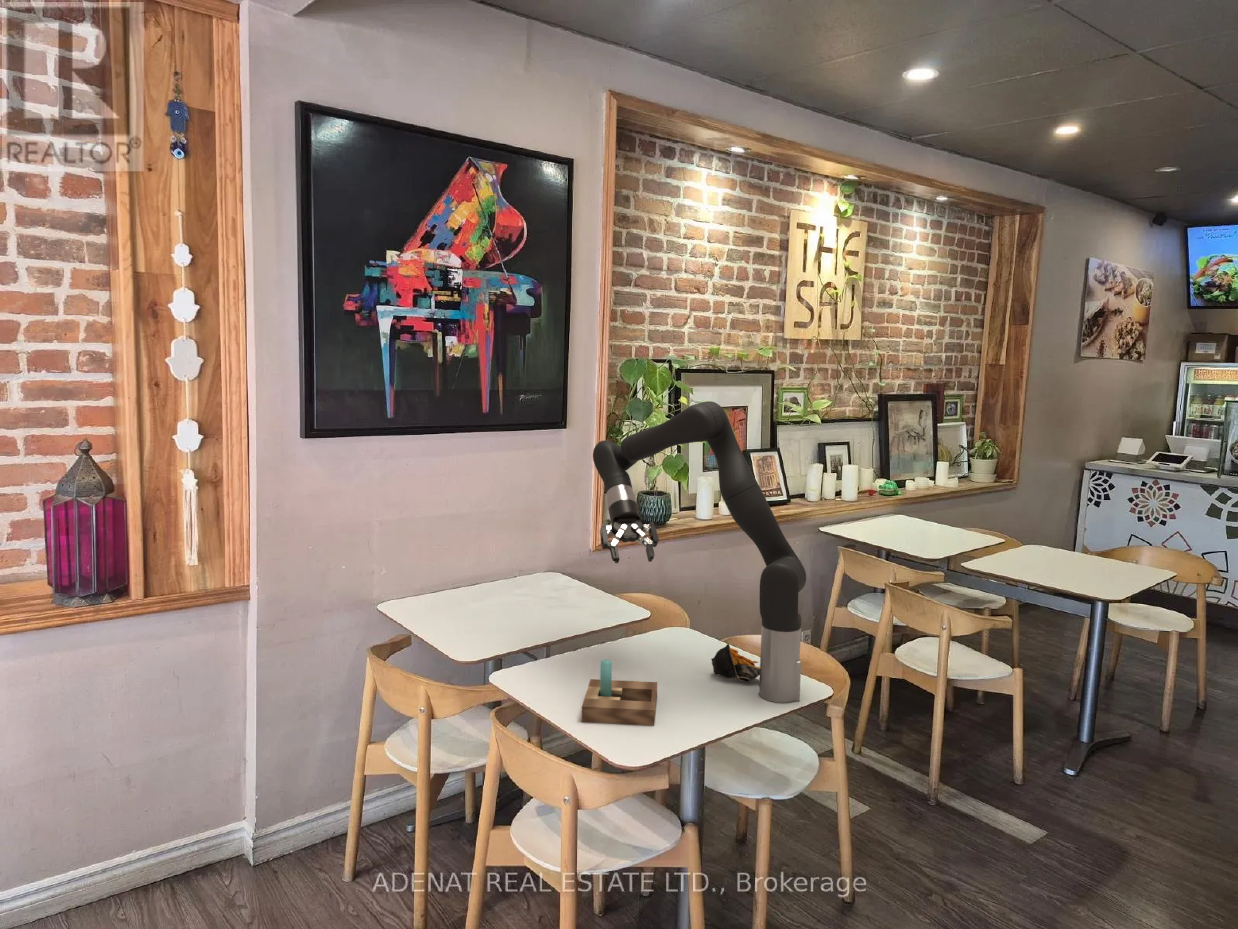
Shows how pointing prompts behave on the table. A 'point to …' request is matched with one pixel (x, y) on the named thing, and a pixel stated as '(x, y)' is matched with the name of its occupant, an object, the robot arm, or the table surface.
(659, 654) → the table surface
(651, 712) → the keyhole plate
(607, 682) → the peg
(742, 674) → the black fries container
